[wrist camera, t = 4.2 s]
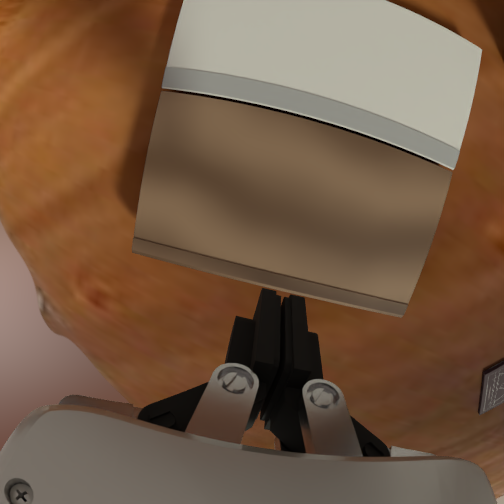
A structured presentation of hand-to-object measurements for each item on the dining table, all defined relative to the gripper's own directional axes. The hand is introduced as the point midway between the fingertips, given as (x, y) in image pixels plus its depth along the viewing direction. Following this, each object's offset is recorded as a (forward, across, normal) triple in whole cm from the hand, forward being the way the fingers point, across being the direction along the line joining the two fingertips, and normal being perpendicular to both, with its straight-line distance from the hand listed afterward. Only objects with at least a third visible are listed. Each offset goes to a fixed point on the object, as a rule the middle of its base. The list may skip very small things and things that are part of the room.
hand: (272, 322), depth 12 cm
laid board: (+9, 0, -12) cm, 15 cm away
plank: (+9, 0, -2) cm, 9 cm away
